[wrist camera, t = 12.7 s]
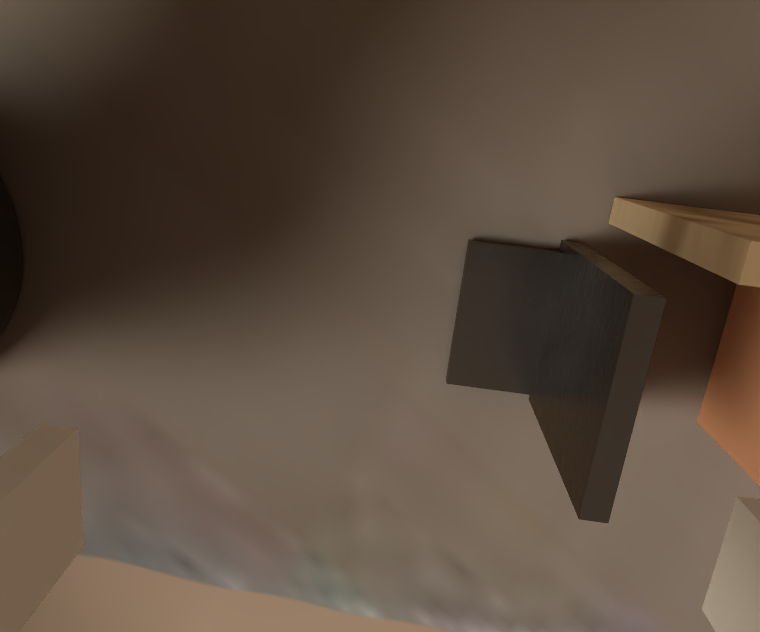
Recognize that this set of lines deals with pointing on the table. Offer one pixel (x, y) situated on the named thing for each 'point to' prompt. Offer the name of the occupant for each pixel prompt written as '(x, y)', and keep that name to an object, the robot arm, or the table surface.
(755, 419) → the book rust
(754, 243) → the shelf
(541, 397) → the bookend
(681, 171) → the table surface
